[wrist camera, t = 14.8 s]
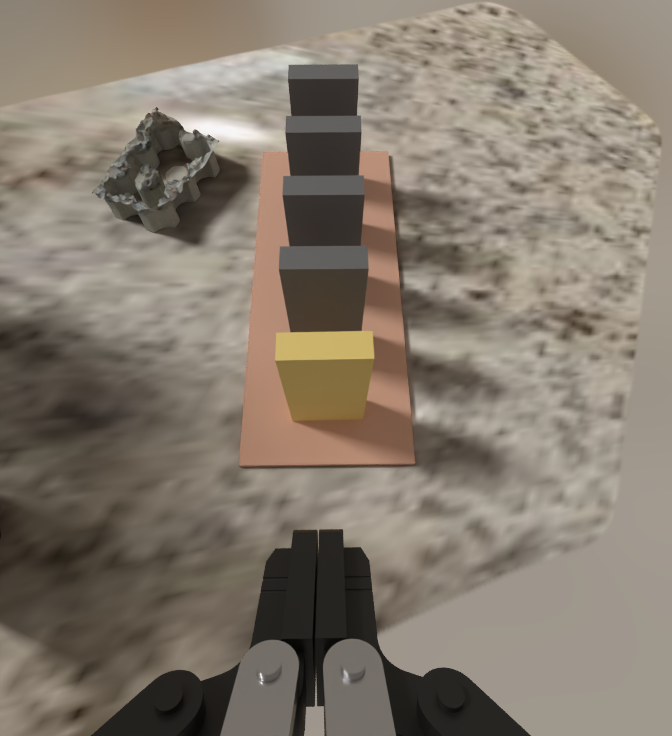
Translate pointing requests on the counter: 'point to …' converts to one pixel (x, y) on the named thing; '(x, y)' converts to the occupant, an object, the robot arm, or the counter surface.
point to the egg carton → (142, 175)
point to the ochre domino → (325, 373)
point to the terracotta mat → (381, 315)
